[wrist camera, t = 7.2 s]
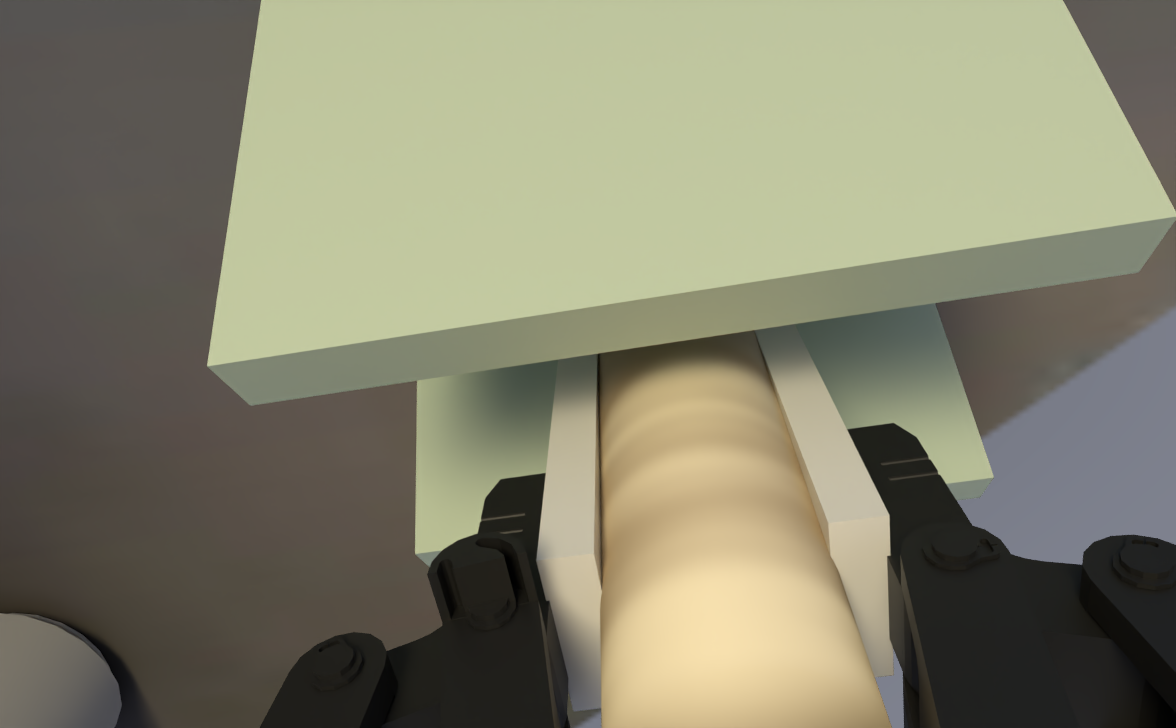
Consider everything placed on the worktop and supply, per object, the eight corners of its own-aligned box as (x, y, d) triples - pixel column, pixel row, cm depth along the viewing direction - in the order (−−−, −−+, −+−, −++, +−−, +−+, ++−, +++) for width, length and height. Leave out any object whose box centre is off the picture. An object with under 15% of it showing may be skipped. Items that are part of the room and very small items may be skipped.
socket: (319, -155, 23) (-151, -315, 8) (868, -269, 21) (1387, -676, 7) (463, 387, 29) (335, 798, 15) (884, 324, 28) (1167, 708, 14)
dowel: (586, 231, 19) (581, 682, 9) (731, 211, 19) (900, 649, 9) (606, 355, 21) (621, 857, 11) (741, 338, 21) (891, 835, 10)
